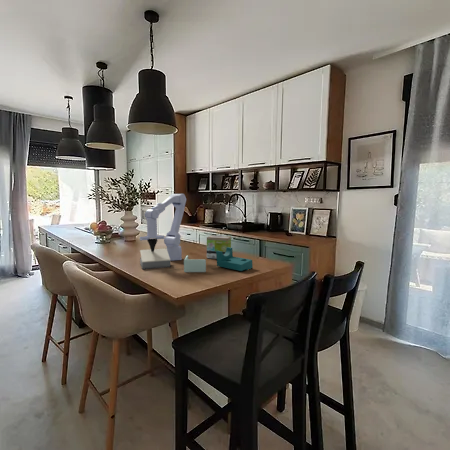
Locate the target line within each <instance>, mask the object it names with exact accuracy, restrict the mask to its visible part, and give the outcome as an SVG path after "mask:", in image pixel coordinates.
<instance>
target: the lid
mask: <svg viewBox="0 0 450 450" xmlns="http://www.w3.org/2000/svg"><path fill="white" fill-rule="evenodd" d="M139 253H140V258H141V259H142V262H155V261H168V260H170V257H169V254H168V251H167V247H166V248H155V249H154V252H151V248H150V249H139Z"/></svg>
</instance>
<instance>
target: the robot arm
mask: <svg viewBox="0 0 450 450" xmlns="http://www.w3.org/2000/svg"><path fill="white" fill-rule="evenodd" d="M186 204H187V198H186V195H185V193H171V194H169V195H168V197H167V198H166V199H164V201H163V202H156V204H155V205H154V206H152V207H151V208H150V209H147V210H146V211H145V213H144V218H145V219H146V229H147V230H146V232H147V233H146V236H139V241H147V243H148V245H149V248H150V249H151V252H154V249H156V246H157V242H158V240H163V243H164V244H165V247H166V249H167V251H168V254H169V257H170V262H171V261H182V260H183V259H182V246H181V239H182V236H181V234H180V233H179V231H180V227H181V224H182V220H183V217H184V212H185V207H186ZM169 205H172V206H173V207H174V208H175V211H174V214H173V215H174V216H173V219H172V222H171V227H170V230H169V231H168V232H167V233H166V235H158V222H157V221H158V219H159V216H160V215H161V214H162V213H163V212H164V211H166V207H168V206H169Z"/></svg>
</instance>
